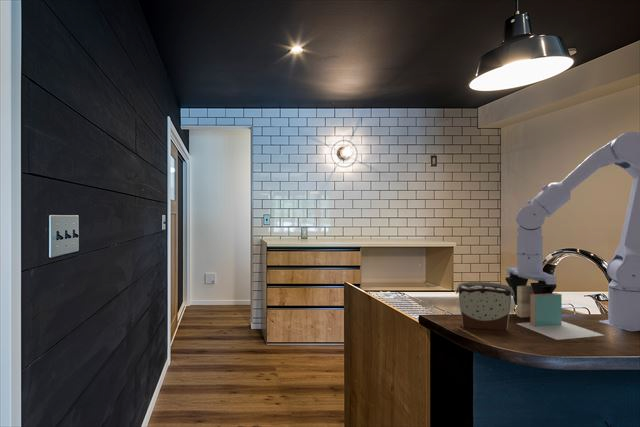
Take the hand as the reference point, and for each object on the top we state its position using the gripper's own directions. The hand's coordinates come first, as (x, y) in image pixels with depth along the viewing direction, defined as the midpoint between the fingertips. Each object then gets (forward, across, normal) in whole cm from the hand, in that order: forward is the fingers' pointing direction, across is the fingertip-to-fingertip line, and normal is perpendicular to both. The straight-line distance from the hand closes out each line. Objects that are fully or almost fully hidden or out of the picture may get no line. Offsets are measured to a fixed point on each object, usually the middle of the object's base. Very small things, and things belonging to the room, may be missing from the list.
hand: (529, 308), depth 101 cm
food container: (+3, +4, -16) cm, 17 cm away
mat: (+2, +11, -2) cm, 11 cm away
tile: (+2, +8, -2) cm, 8 cm away
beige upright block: (+2, 0, 0) cm, 2 cm away
